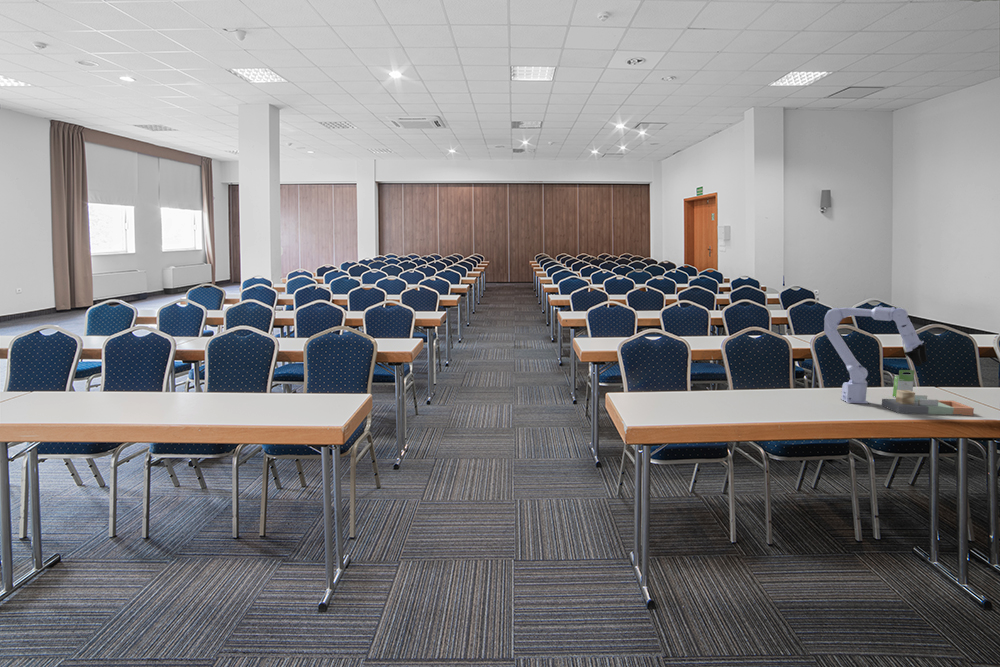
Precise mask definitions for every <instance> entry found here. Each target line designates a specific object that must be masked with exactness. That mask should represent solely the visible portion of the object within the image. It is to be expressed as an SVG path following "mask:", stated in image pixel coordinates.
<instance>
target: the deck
mask: <svg viewBox="0 0 1000 667" xmlns="http://www.w3.org/2000/svg"><path fill="white" fill-rule="evenodd" d="M881 400H882V401H881V406H882V405H883V407H884V406H885V407H884V408H886V407H888V408H890V409H889V410H891V409H892V410H891V411H893V410H894V411H893V412H895V411H896V412H895V413H897V412H898V413H897V414H912V413H919V414H922V415H946V414H962V415H961V416H974V410H975V408H974V407H972V406H968V405H966V404H963V403H961V402H957V401H955V400H946V399H945V400H940V399H938V400H939V401H938V406H919V405H918V401H914V404H901V403H899V402H896V398H881ZM888 408H887V409H888ZM919 414H918V415H919Z"/></svg>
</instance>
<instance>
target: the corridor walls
mask: <svg viewBox="0 0 1000 667" xmlns="http://www.w3.org/2000/svg"><path fill="white" fill-rule="evenodd" d="M939 400H940V399H933V398H932V399H928V395H922V394H921V395H920V394H919V395H918V394H915V400H914V401H918V405H919V406H938V401H939Z"/></svg>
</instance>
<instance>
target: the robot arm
mask: <svg viewBox="0 0 1000 667" xmlns="http://www.w3.org/2000/svg"><path fill="white" fill-rule="evenodd" d="M908 315H909V313H908V311H907V310H906V309H905V308H902V307H897V308H896V307H895V306H892V307H885V306H884V307H883V305H879V306H875V307H874V308H872V309H871V308H858V307H850V306H849V307H834V308H832V309H828V310H827V312H826V314H825V315H824V319H823V321H824V324H823V326H824V327H823V331H824V332H823V333H824V334H825V336H826V337H827V338H828V340H829V341H830V343H831V345H832V346H833V347H834V349H835V351H836V353H837V354H838V355H839V357H840V358H841V360H842V361H843V363H844V365H845V367H846V370H847V372H848V374H849V378H850V379H849V380H848V381H847V382H845V381H844V382H843V383H842V386H841V387H842V388H841V397H840V400H841V399H842V400H841V401H843V400H844V402H845V401H846V402H845V403H847V404H868V403H869V404H871V403H870V402H869V401H867V392H868V391H867V390H868V381H867V380H866V379H867V377H868V376H869V371H868V370H867V369H866V368H865V367H864V366H862V365H861V363H860V362H859V361H858V360H857V359H856V357H855V355H854V354H853V352H852V350H850V348H849V347H848V345H847V343H846V342H845V340H844V338H843V337H842V336H841V335H840V333H839V331H838V329H839V326H840V325H839V324H840V323H841V322H842V320H843V319H846V318H848V317H851V316H855V317H871V318H872V319H873V320H875V321H886V322H891V321H894V323H895V325H896V328H897V330H898V333H899V335H900V337H901V339H902V342H903V344H904V346H905V350H906V351H905V352H904V355H905V356H906V357H908V358H909V359H910V360H911V361H912V363H913V364H914V366H916V367H921V366H923V363H928V357H927V344H925V342H924V340H922V341H921V339H920V338H919V336H918V333H917V331H916V329H915V327H914V325H913V323H912V322H911V319H910V318H909V316H908ZM923 343H924V344H923Z"/></svg>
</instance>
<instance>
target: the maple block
mask: <svg viewBox="0 0 1000 667" xmlns="http://www.w3.org/2000/svg"><path fill="white" fill-rule="evenodd" d="M915 395H916V392H915V391H913V392H912V391H909V390H897V393H896V398H895V399H896V402H899V403H901V404H914V400H915Z"/></svg>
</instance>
